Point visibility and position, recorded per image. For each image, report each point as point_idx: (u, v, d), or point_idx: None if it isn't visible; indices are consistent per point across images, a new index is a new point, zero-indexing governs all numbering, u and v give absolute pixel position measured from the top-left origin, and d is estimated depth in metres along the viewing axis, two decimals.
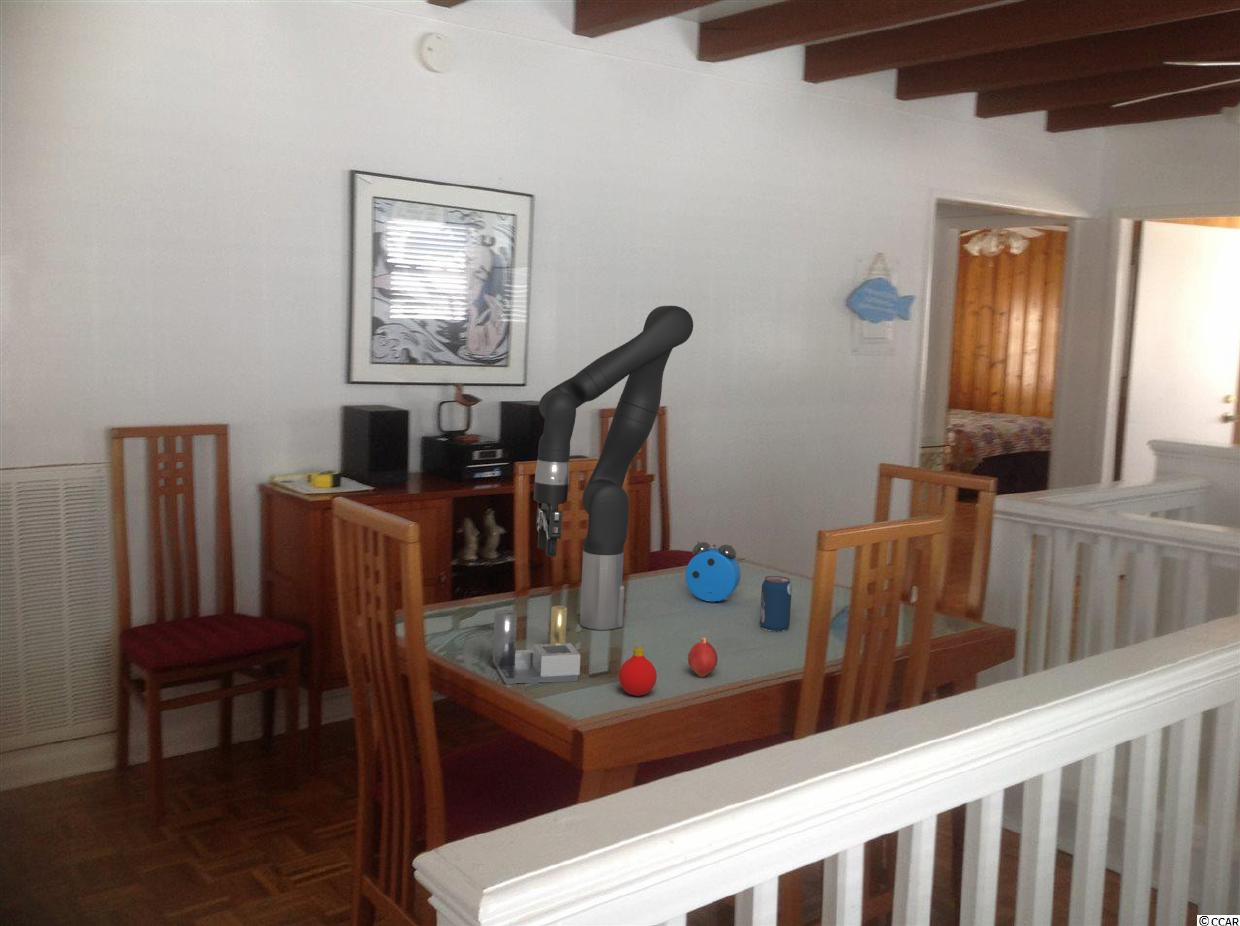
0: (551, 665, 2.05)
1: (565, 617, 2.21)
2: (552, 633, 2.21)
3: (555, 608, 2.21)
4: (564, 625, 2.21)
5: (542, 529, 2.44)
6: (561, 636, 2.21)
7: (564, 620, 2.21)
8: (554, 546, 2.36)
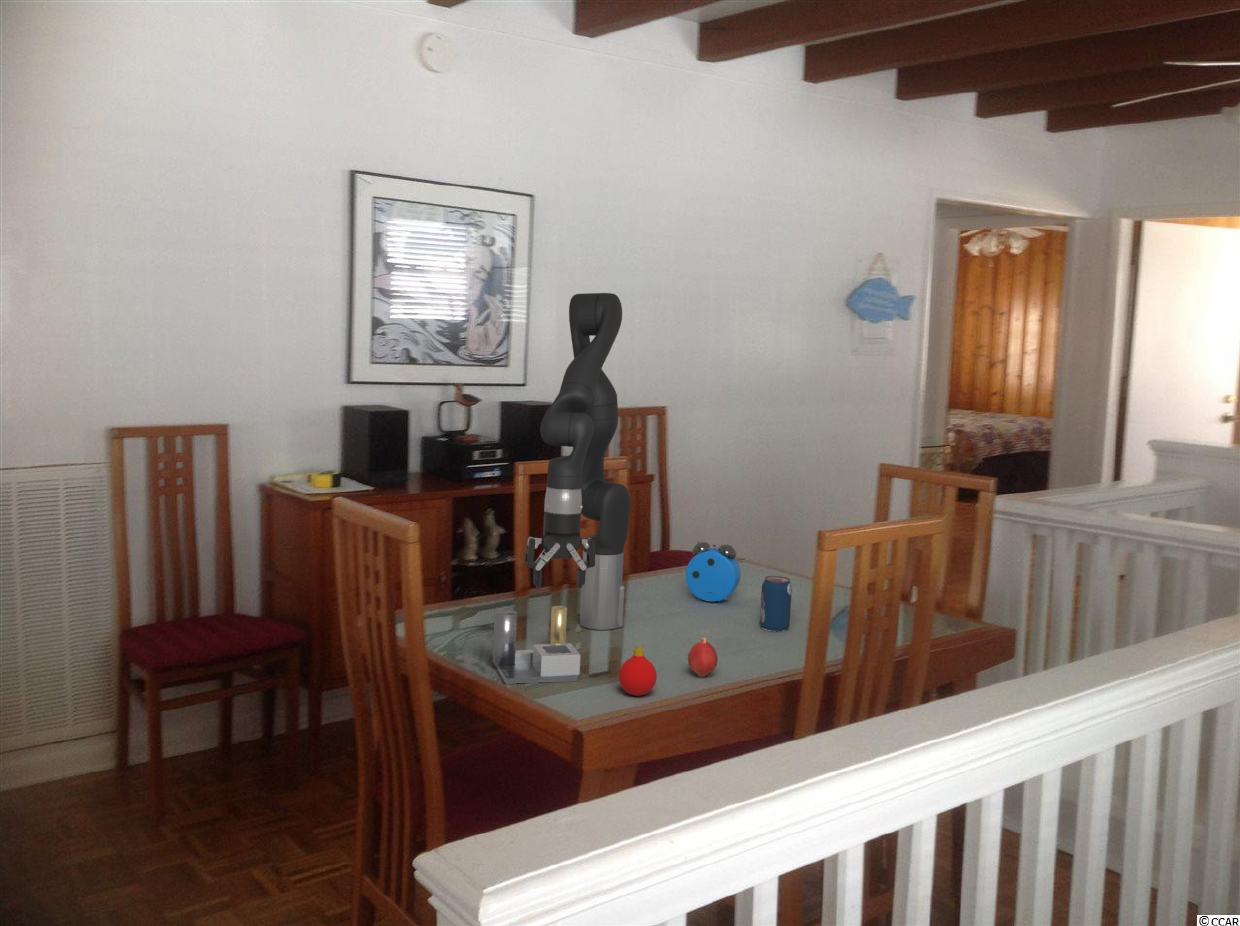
0: (551, 665, 2.05)
1: (565, 617, 2.21)
2: (552, 633, 2.21)
3: (555, 608, 2.21)
4: (564, 625, 2.21)
5: None
6: (561, 636, 2.21)
7: (564, 620, 2.21)
8: None
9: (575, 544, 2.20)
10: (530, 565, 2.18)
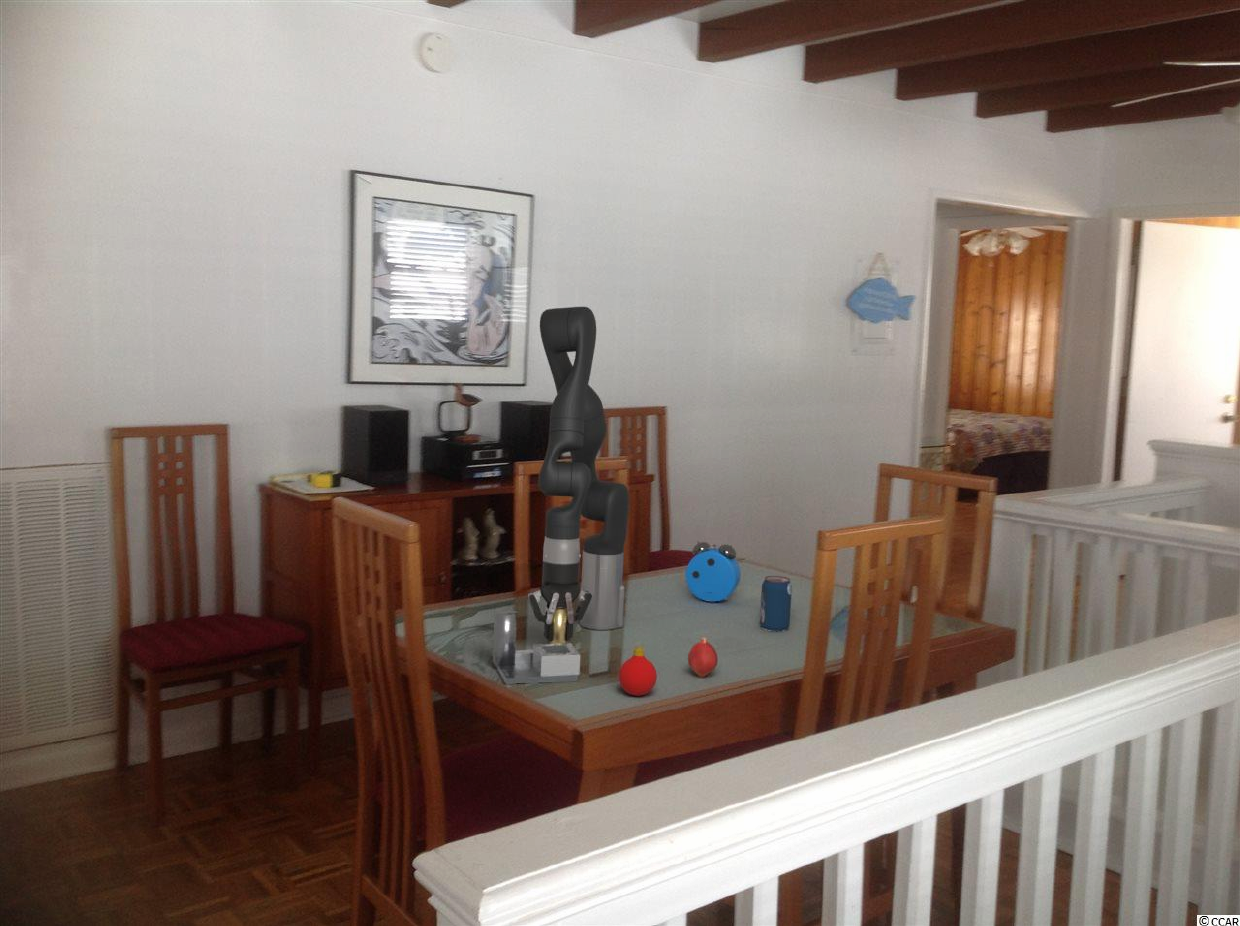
0: (551, 665, 2.05)
1: (565, 617, 2.21)
2: (552, 633, 2.21)
3: None
4: (564, 625, 2.21)
5: None
6: (561, 636, 2.21)
7: (564, 620, 2.21)
8: None
9: (573, 592, 2.21)
10: (541, 619, 2.20)
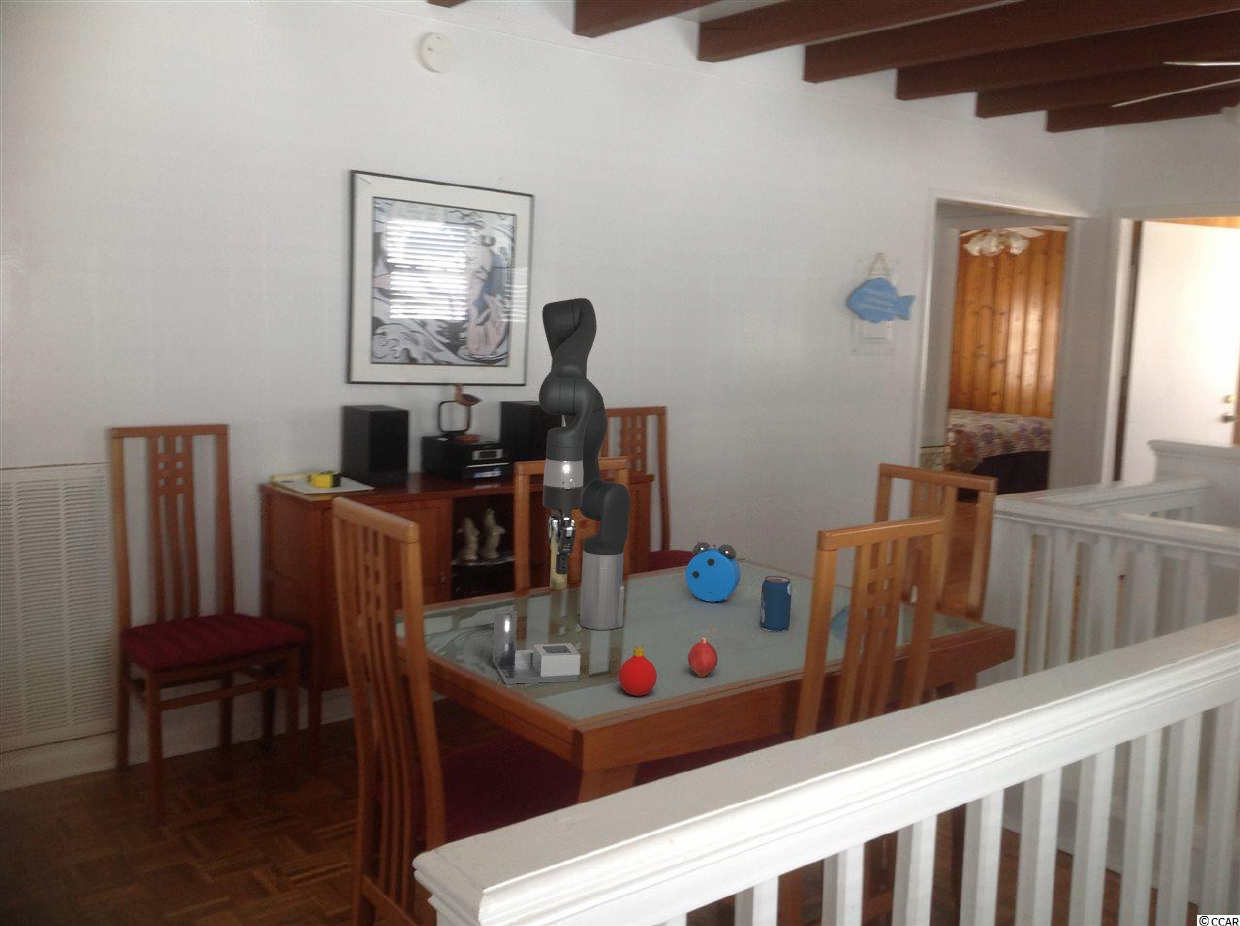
0: (551, 665, 2.05)
1: None
2: None
3: None
4: None
5: None
6: None
7: None
8: None
9: None
10: None
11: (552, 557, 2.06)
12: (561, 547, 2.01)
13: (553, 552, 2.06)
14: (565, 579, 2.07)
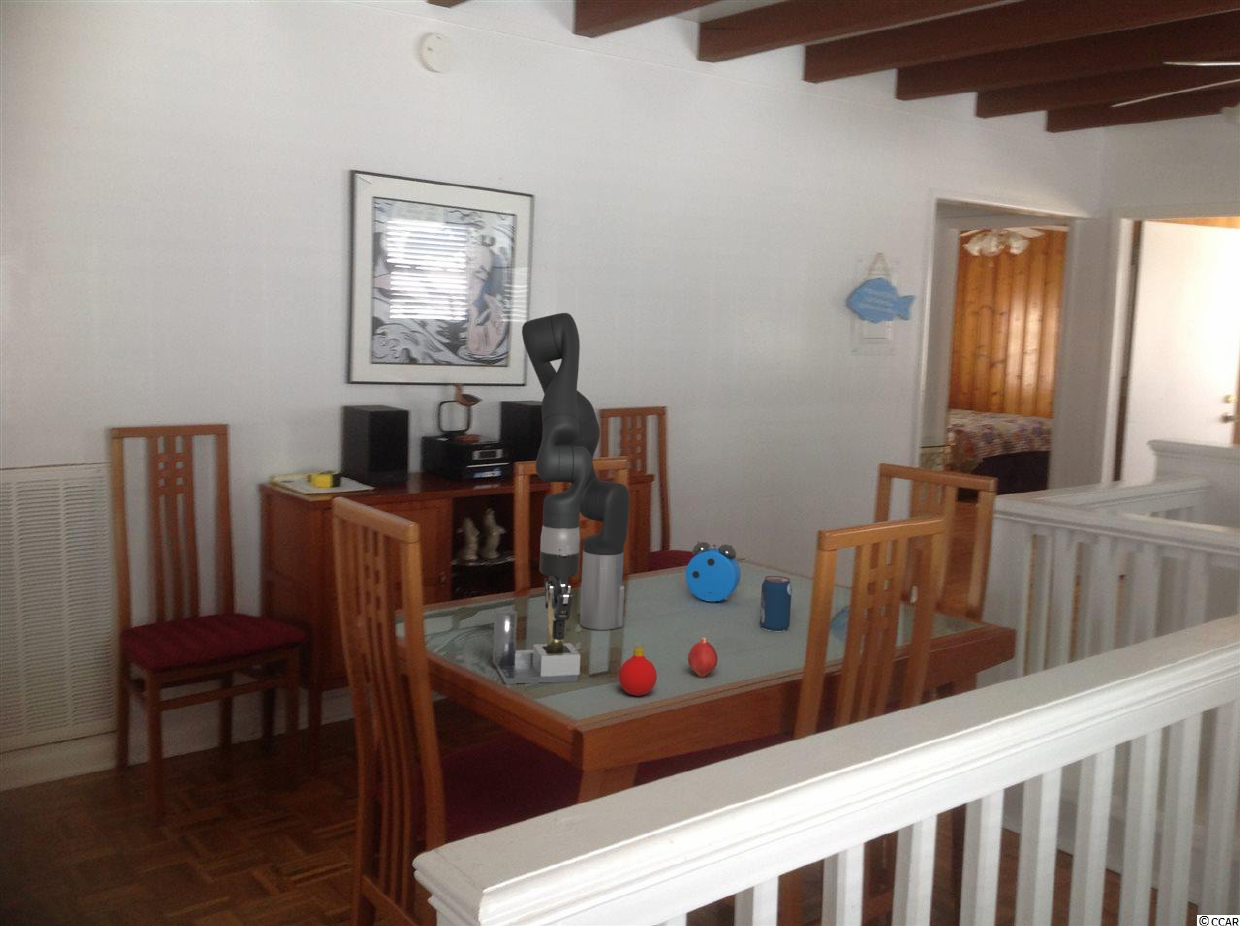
0: (551, 665, 2.05)
1: None
2: None
3: None
4: None
5: None
6: None
7: None
8: None
9: None
10: None
11: (549, 622, 2.08)
12: (558, 614, 2.03)
13: (550, 617, 2.07)
14: (562, 644, 2.08)
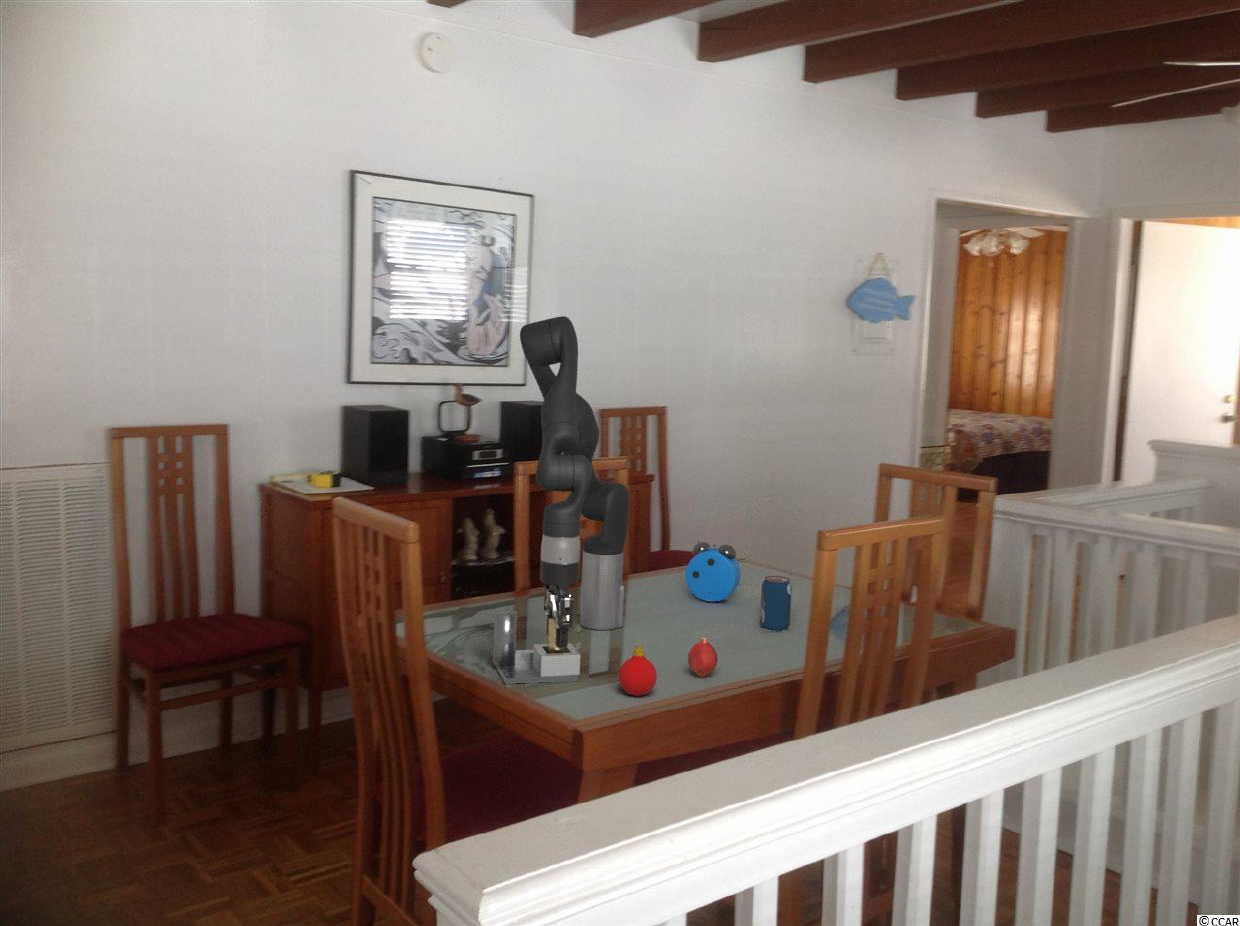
0: (551, 665, 2.05)
1: None
2: None
3: None
4: None
5: None
6: None
7: None
8: None
9: None
10: None
11: (549, 640, 2.08)
12: (561, 620, 2.01)
13: (550, 635, 2.07)
14: None
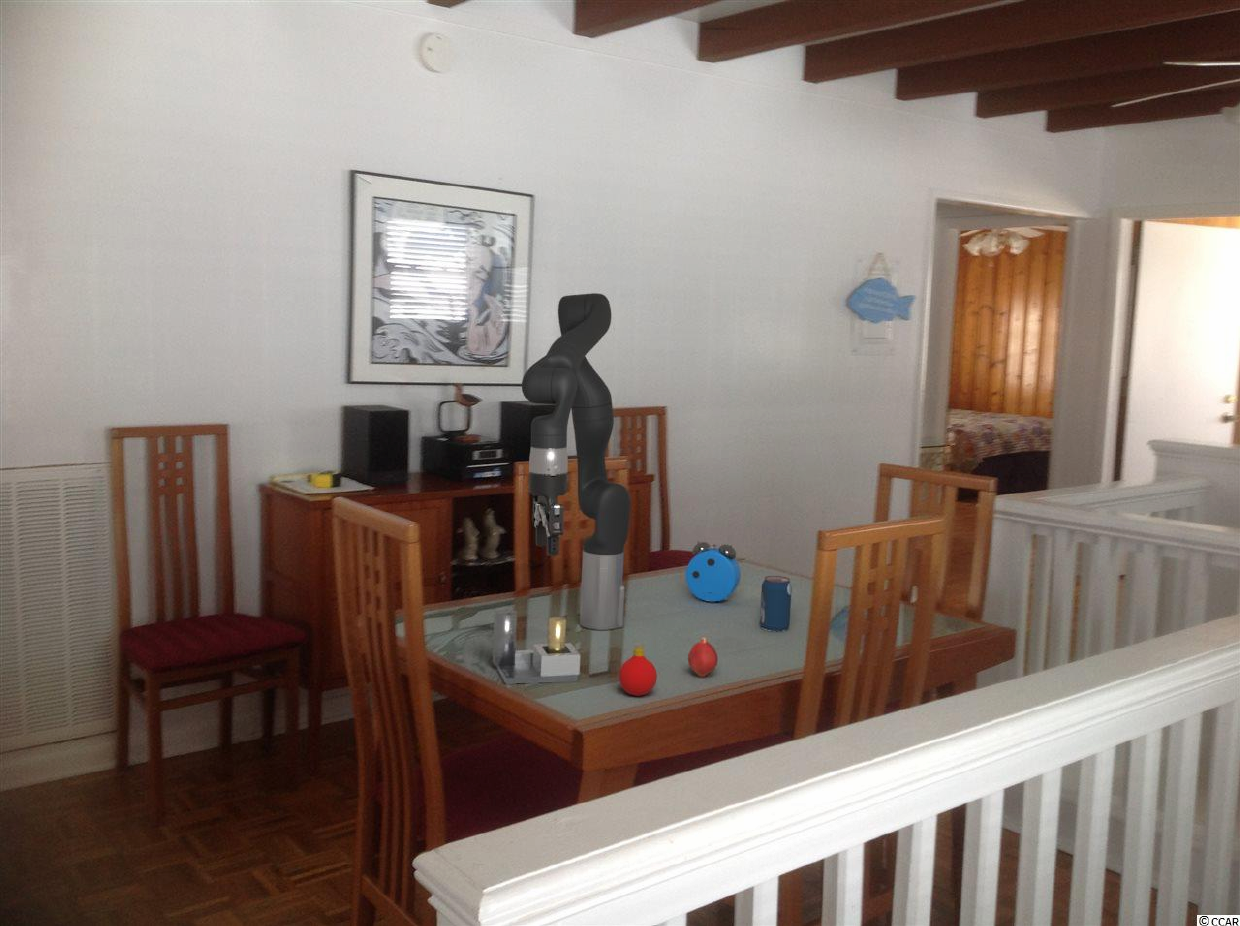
0: (551, 665, 2.05)
1: None
2: (561, 647, 2.08)
3: (560, 620, 2.08)
4: None
5: None
6: None
7: None
8: None
9: None
10: None
11: (549, 640, 2.08)
12: (551, 527, 2.06)
13: (550, 635, 2.08)
14: None
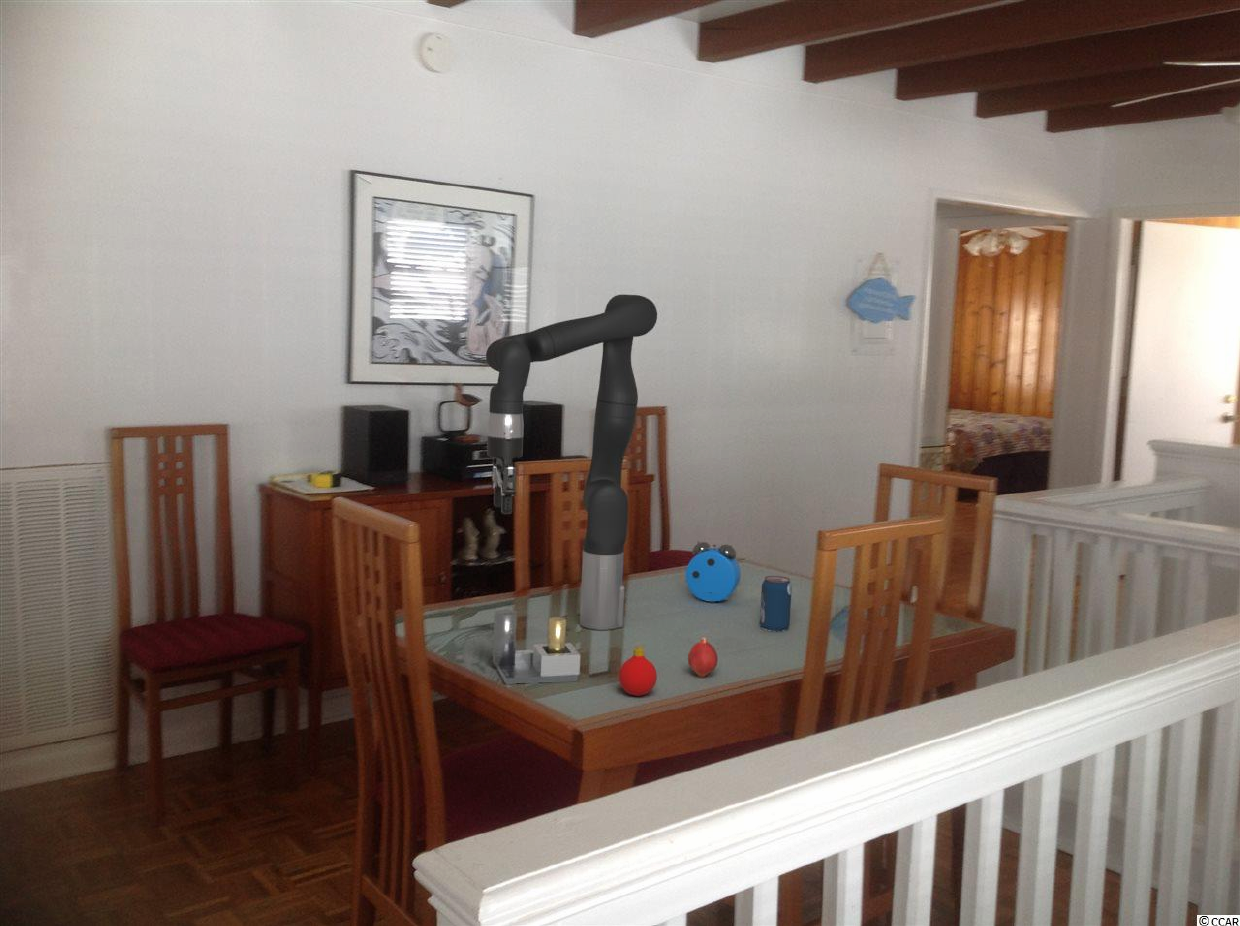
0: (551, 665, 2.05)
1: None
2: (561, 647, 2.08)
3: (560, 620, 2.08)
4: None
5: None
6: None
7: None
8: None
9: None
10: None
11: (549, 640, 2.08)
12: (505, 486, 2.21)
13: (550, 635, 2.08)
14: None
